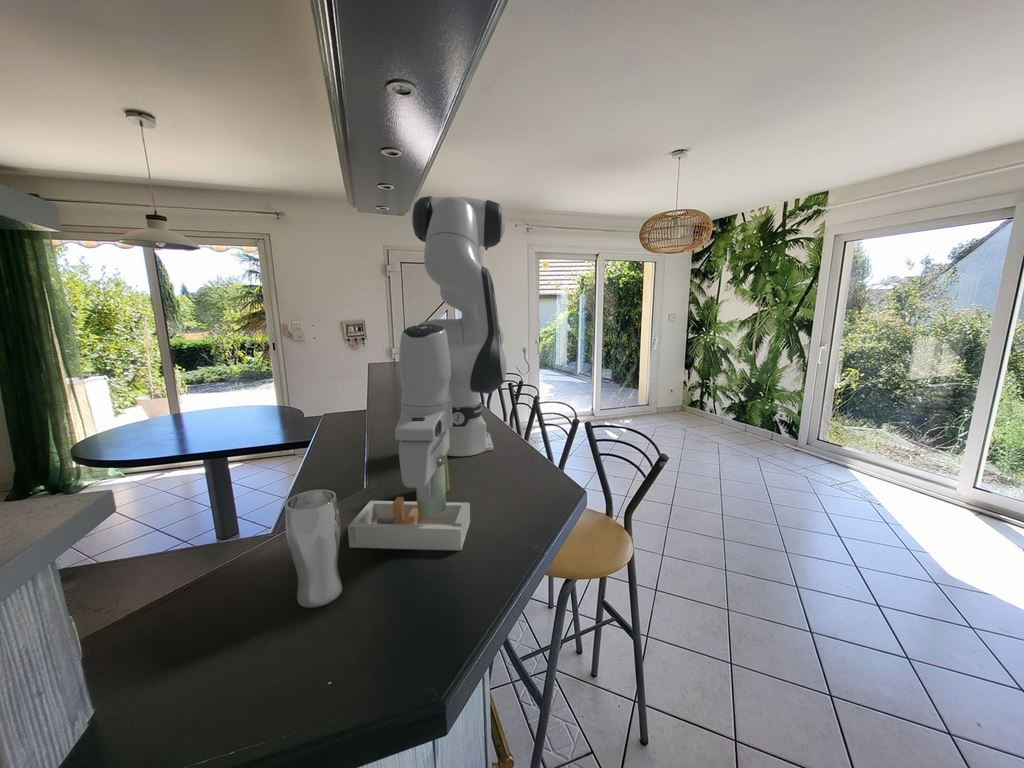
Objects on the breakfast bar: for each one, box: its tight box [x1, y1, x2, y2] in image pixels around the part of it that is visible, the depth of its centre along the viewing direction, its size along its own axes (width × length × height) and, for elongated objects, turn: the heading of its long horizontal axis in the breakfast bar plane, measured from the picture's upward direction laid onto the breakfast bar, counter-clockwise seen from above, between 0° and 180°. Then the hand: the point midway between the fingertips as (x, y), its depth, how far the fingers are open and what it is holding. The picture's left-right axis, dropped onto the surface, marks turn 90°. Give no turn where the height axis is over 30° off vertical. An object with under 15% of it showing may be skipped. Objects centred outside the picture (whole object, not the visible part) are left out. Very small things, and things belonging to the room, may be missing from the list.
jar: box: [415, 455, 447, 516], centre depth 75 cm, size 5×5×10 cm
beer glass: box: [284, 489, 343, 609], centre depth 59 cm, size 7×7×15 cm
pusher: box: [377, 496, 420, 525], centre depth 76 cm, size 7×7×6 cm
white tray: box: [347, 500, 471, 551], centre depth 77 cm, size 10×20×4 cm, turn 87°
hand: (430, 490), depth 75 cm, fingers closed on jar, 5 cm apart
